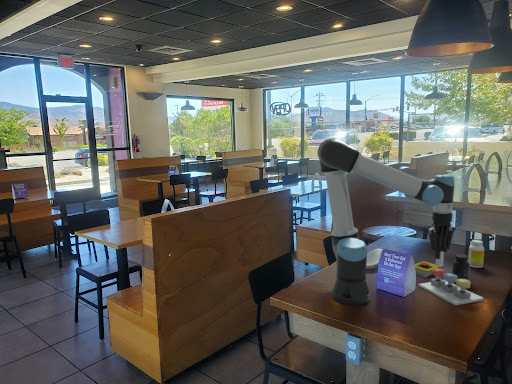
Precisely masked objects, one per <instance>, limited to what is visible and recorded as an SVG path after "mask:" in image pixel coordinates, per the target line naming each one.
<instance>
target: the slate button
mask: <svg viewBox="0 0 512 384" xmlns="http://www.w3.org/2000/svg"><path fill="white" fill-rule="evenodd" d="M443 280H445V281H447V282H448V285H452V284H453V283H455V282H456V280H457V275H455V274H452V272H451V273H449V272H447V273H446V272H445V274H444V277H443Z"/></svg>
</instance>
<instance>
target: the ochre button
mask: <svg viewBox="0 0 512 384" xmlns="http://www.w3.org/2000/svg"><path fill="white" fill-rule="evenodd" d="M455 285H456V286H458V287H460V288H461V291H465V290H466V289H470V288H471V281H470V279H469V280H466V279H457V280H456V283H455Z"/></svg>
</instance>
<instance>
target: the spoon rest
mask: <svg viewBox="0 0 512 384" xmlns="http://www.w3.org/2000/svg"><path fill="white" fill-rule="evenodd" d="M382 250H383V249H382V248H379V247H378V248H375V249H373V250H371V251H369V252H367V262H366V270H373V269H375V268H376V267H377V266H378V265H379V263H380V261H379V259H380V260H381V257H382Z"/></svg>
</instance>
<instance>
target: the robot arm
mask: <svg viewBox="0 0 512 384" xmlns="http://www.w3.org/2000/svg"><path fill="white" fill-rule="evenodd" d="M317 157H318V159H319V167H320V172H321V174H323V175H324V176H325V181H326V185H327V186H326V187H327V193H328V199H329V206H330V207H329V208H330V214H331V219H332V225H333V229H332V231H331V233H330V236H331V242H332V245H331V247H332V251H333V253H334V256H335V258H336V259H335V260H336V278H335V281H334V284H333V287H332V289H331V297H332V299H333V300H334V301H336V302H338V303H341V304H344V305H348V306H349V305H350V306H361V305H365V304H366V303H369V301H370V298H371V294H370V290H369V287H368V282H367V269H366V262H367V253H368V246H367V244H366V243H365V241H364V240H362V239H360V235H359V234H360V233H359V229H358V228H357V227H355V225H354V218H353V217H354V216H353V211H352V206H351V205H352V204H351V198H350V191H349V185H348V179H347V174H351V173H354V174H356V175H359V176H361V177H364V178H366V179H368V180H370V181H373V182H375V183H377V184H380V185H382V186H385V187H387V188H388V189H392V190H395V191H397V192H398V193H401V194H403V195H404V197H405V198H407V199H415V200H418V201H420V202H423V203H424V204H426V205H428V206H432V211H433V212H432V218H431V220H432V221H433V223H432V226H431V228H427V233H428V235H429V242H430V248H431V250H432V251H435V253H434V258H435V265H437V266H439V267H440V268H442V267H444V260H445V257H446V256H445V255H446V253H447V252H448V250H449V249H450V248H451V243H452V239H453V236H454V233H455V231H456V227H455V226H452V224H451V223H452V221H453V208H454V193H455V177H454V176H453V175H450V174H449V175H448V174H436V175H434V178H433V179H429V180H428V179H427V180H426V179H420V178H418V177H416V176H415V175H411V174H409V173H406V172H404V171H401V170H400V169H397V168H394V167H392V166H390V165H387V164H385V163H383V162H381V161H378V160H376V159H373V158H372V157H371V158H370V157H368V156H367V155H364V154H362V152H361V151H360V150H358V149H356V148H355V147H353V146H350V145H349V144H347V143H346V142H344V141H343V140H342V139H339V138H327V139H325V140H323V141H322V142H321V143H320V144H319V146H318V148H317Z"/></svg>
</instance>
